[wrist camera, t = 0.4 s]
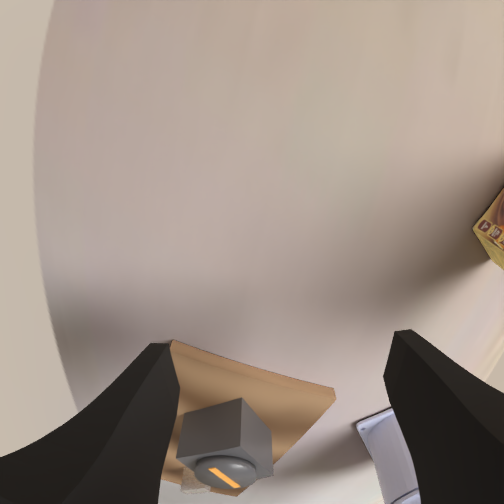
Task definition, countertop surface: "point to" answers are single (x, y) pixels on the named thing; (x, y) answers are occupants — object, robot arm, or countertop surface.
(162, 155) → the countertop surface
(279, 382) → the parts board
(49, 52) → the countertop surface
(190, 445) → the knob
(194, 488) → the speckled beige tile
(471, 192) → the countertop surface
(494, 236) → the candy box
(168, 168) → the countertop surface
